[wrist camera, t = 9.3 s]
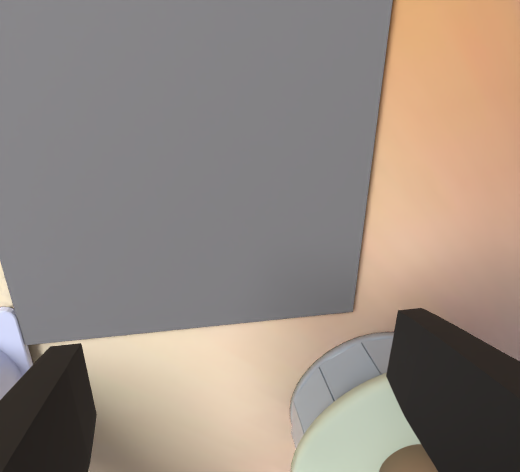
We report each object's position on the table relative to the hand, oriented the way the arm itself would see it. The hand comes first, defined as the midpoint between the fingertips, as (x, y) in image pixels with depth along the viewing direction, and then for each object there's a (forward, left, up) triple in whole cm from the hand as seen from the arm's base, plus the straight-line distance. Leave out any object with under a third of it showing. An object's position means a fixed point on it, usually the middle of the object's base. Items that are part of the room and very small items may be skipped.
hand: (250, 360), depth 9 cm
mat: (-1, +2, -10) cm, 10 cm away
